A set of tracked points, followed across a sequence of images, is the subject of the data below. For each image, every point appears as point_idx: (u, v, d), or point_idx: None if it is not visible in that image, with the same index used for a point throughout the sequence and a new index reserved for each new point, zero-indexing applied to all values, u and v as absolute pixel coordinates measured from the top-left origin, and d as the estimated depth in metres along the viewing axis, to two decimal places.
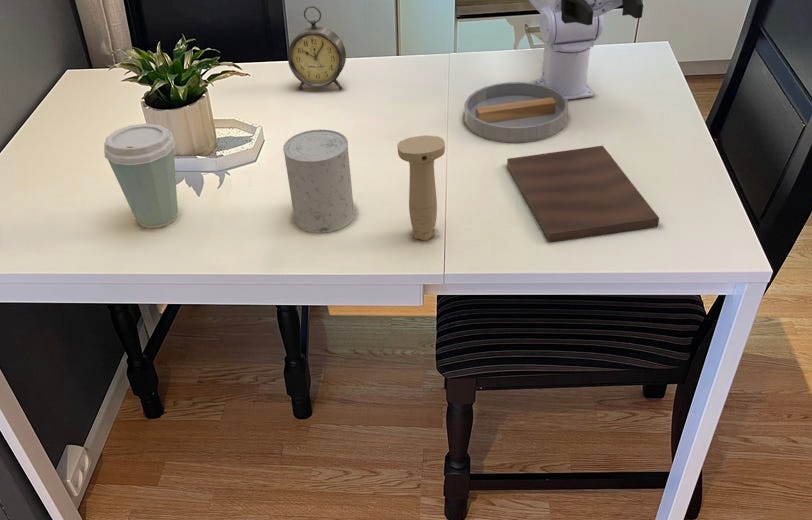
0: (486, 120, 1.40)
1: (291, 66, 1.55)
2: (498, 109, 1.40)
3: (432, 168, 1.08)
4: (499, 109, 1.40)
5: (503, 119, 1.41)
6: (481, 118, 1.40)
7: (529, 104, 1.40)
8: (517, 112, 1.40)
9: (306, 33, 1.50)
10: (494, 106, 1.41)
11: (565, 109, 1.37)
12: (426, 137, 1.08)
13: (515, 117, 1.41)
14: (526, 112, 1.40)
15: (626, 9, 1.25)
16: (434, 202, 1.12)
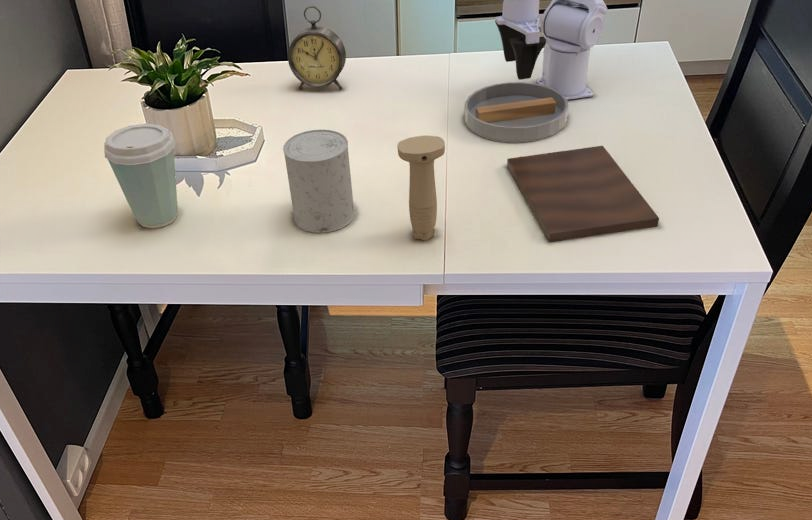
0: (486, 120, 1.40)
1: (291, 66, 1.55)
2: (498, 109, 1.40)
3: (432, 168, 1.08)
4: (499, 109, 1.40)
5: (503, 119, 1.41)
6: (481, 118, 1.40)
7: (529, 104, 1.40)
8: (517, 112, 1.40)
9: (306, 33, 1.50)
10: (494, 106, 1.41)
11: (565, 109, 1.37)
12: (426, 137, 1.08)
13: (515, 117, 1.41)
14: (526, 112, 1.40)
15: None
16: (434, 202, 1.12)
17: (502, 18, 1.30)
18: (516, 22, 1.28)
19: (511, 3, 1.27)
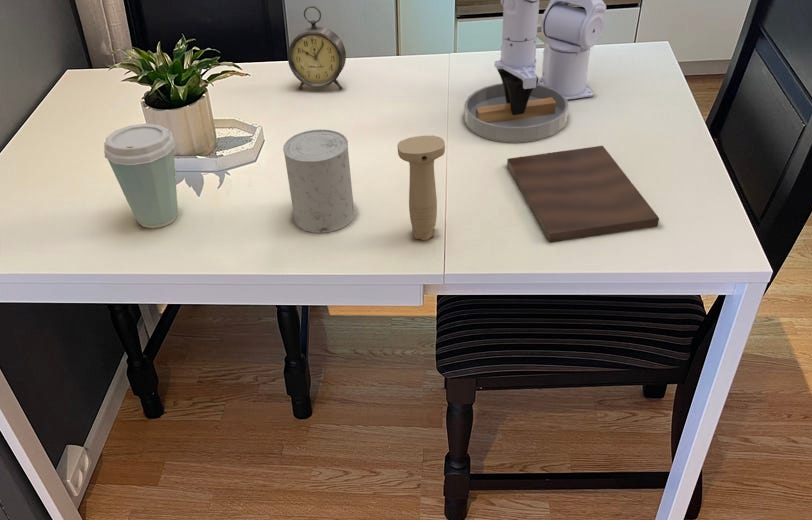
0: (486, 120, 1.40)
1: (291, 66, 1.55)
2: (498, 109, 1.40)
3: (432, 168, 1.08)
4: (499, 109, 1.40)
5: (503, 119, 1.41)
6: (481, 118, 1.40)
7: (529, 104, 1.40)
8: None
9: (306, 33, 1.50)
10: (494, 106, 1.41)
11: (565, 109, 1.37)
12: (426, 137, 1.08)
13: (515, 117, 1.41)
14: (526, 112, 1.40)
15: None
16: (434, 202, 1.12)
17: (500, 63, 1.35)
18: (514, 67, 1.33)
19: (508, 49, 1.32)
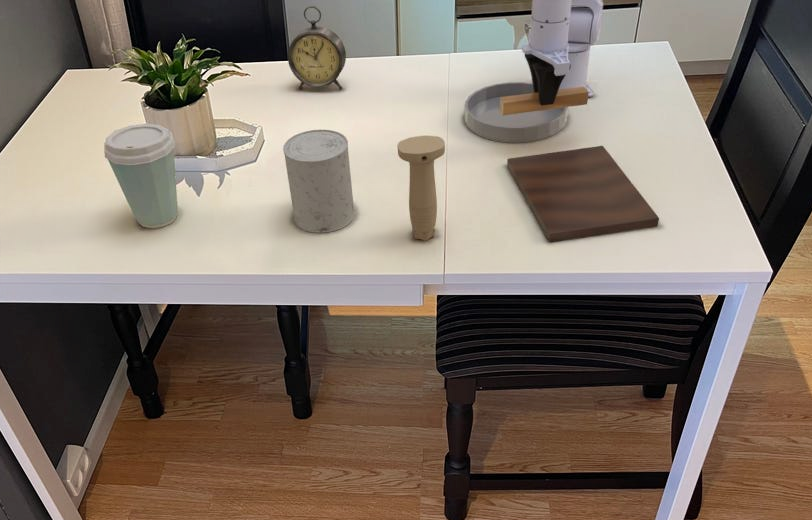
0: (511, 111, 1.27)
1: (291, 66, 1.55)
2: (525, 99, 1.27)
3: (432, 168, 1.08)
4: (526, 99, 1.27)
5: (530, 110, 1.28)
6: (506, 109, 1.27)
7: (559, 94, 1.27)
8: None
9: (306, 33, 1.50)
10: (520, 96, 1.28)
11: (565, 109, 1.37)
12: (426, 137, 1.08)
13: (543, 108, 1.28)
14: (555, 102, 1.27)
15: None
16: (434, 202, 1.12)
17: (529, 47, 1.22)
18: (544, 52, 1.20)
19: (538, 32, 1.19)
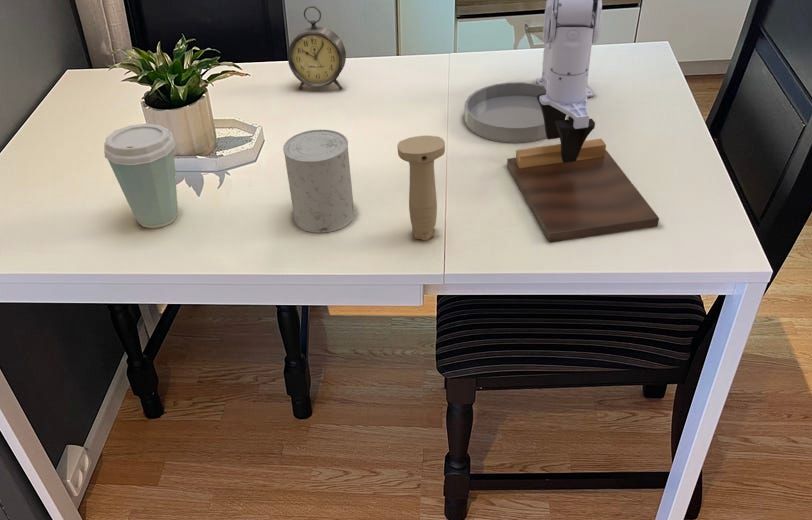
0: (528, 164, 1.26)
1: (291, 66, 1.55)
2: (542, 152, 1.25)
3: (432, 168, 1.08)
4: (542, 152, 1.25)
5: (547, 163, 1.26)
6: (522, 162, 1.25)
7: None
8: None
9: (306, 33, 1.50)
10: (537, 148, 1.26)
11: None
12: (426, 137, 1.08)
13: (560, 161, 1.26)
14: None
15: None
16: (434, 202, 1.12)
17: (546, 98, 1.20)
18: (562, 103, 1.18)
19: (557, 83, 1.17)
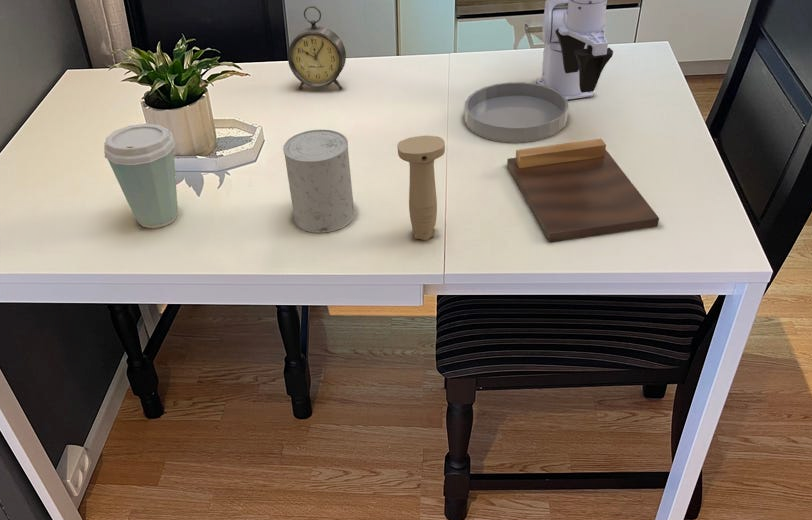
0: (528, 164, 1.26)
1: (291, 66, 1.55)
2: (542, 152, 1.25)
3: (432, 168, 1.08)
4: (542, 152, 1.25)
5: (547, 163, 1.26)
6: (522, 162, 1.25)
7: (576, 147, 1.25)
8: (562, 155, 1.25)
9: (306, 33, 1.50)
10: (537, 148, 1.26)
11: (565, 109, 1.37)
12: (426, 137, 1.08)
13: (560, 161, 1.26)
14: (572, 155, 1.26)
15: None
16: (434, 202, 1.12)
17: (566, 28, 1.24)
18: (581, 33, 1.22)
19: (576, 13, 1.21)
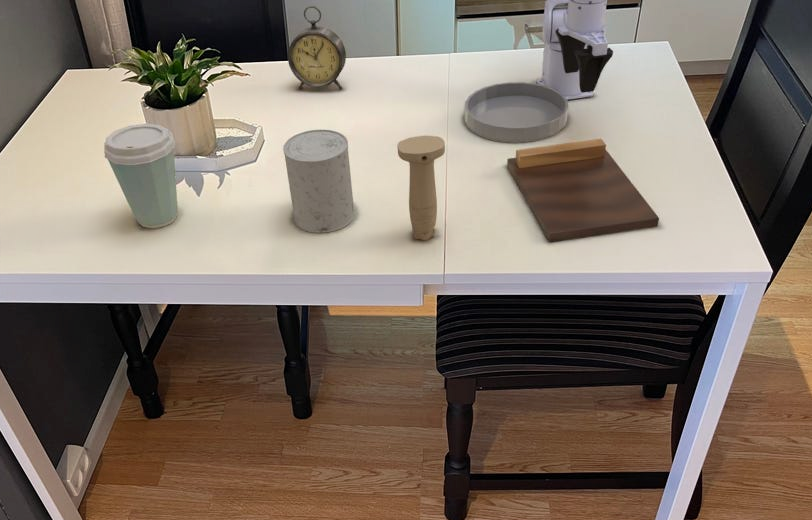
0: (528, 164, 1.26)
1: (291, 66, 1.55)
2: (542, 152, 1.25)
3: (432, 168, 1.08)
4: (542, 152, 1.25)
5: (547, 163, 1.26)
6: (522, 162, 1.25)
7: (576, 147, 1.25)
8: (562, 155, 1.25)
9: (306, 33, 1.50)
10: (537, 148, 1.26)
11: (565, 109, 1.37)
12: (426, 137, 1.08)
13: (560, 161, 1.26)
14: (572, 155, 1.26)
15: None
16: (434, 202, 1.12)
17: (566, 28, 1.24)
18: (581, 33, 1.22)
19: (576, 13, 1.21)
